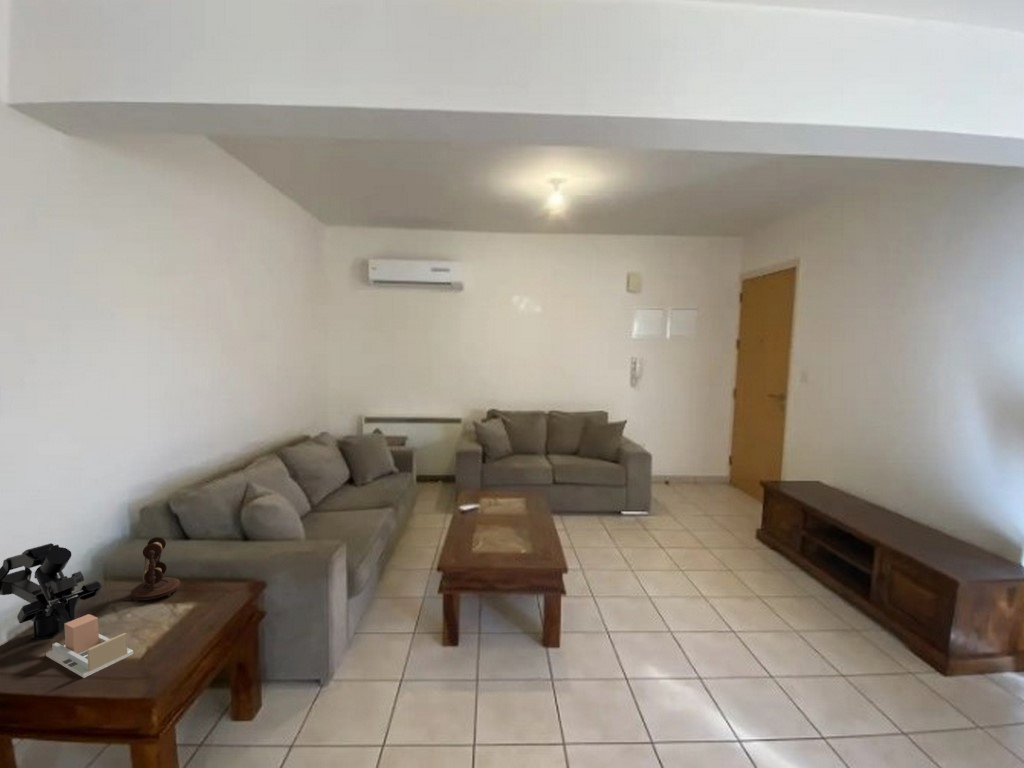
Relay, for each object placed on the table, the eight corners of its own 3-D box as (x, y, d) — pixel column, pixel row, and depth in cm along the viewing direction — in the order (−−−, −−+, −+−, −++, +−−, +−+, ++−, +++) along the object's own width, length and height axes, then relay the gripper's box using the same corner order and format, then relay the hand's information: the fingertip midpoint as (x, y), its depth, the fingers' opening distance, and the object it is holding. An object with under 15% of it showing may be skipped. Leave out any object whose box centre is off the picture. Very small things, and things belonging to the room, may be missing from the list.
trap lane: (46, 656, 144) (44, 632, 144) (95, 635, 155) (94, 613, 154) (83, 677, 135) (82, 653, 134) (133, 654, 146) (132, 631, 145)
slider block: (65, 650, 145) (64, 623, 144) (90, 639, 150) (89, 613, 150) (74, 654, 143) (72, 628, 142) (99, 643, 148) (97, 618, 148)
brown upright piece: (136, 588, 185) (134, 536, 184) (183, 581, 191) (182, 530, 190) (125, 607, 172) (123, 551, 170) (176, 599, 178) (174, 544, 176)
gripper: (19, 579, 142) (39, 626, 137) (97, 555, 158) (117, 597, 154) (8, 599, 146) (28, 646, 141) (85, 574, 162) (105, 615, 158)
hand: (72, 624), depth 149 cm, fingers closed
